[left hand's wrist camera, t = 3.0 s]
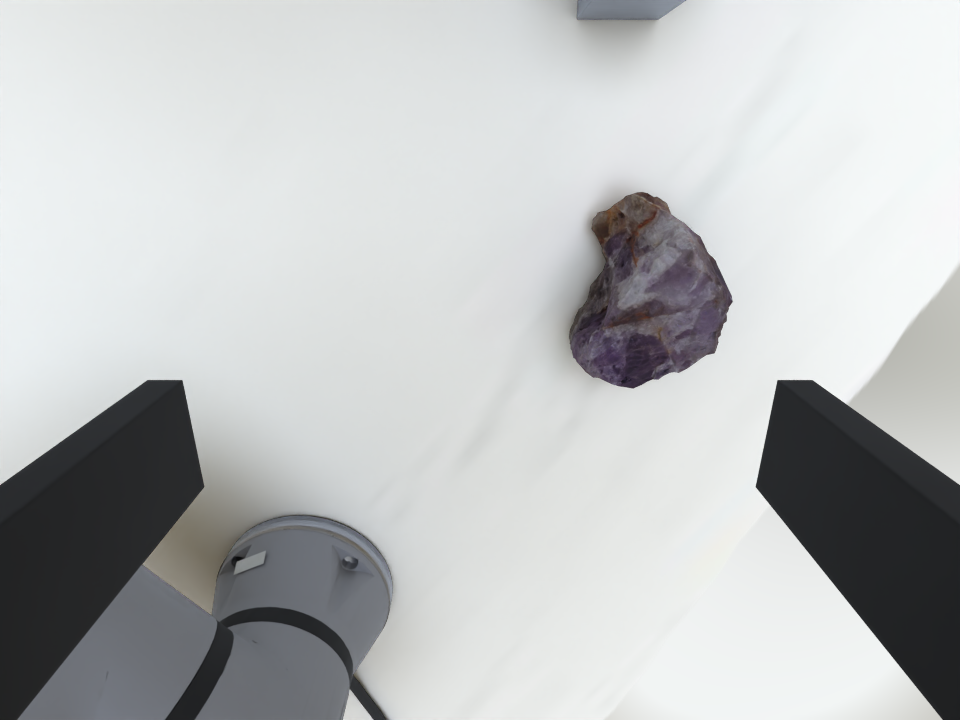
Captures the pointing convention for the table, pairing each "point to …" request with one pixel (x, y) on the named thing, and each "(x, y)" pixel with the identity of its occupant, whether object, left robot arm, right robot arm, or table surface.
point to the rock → (648, 297)
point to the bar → (625, 9)
